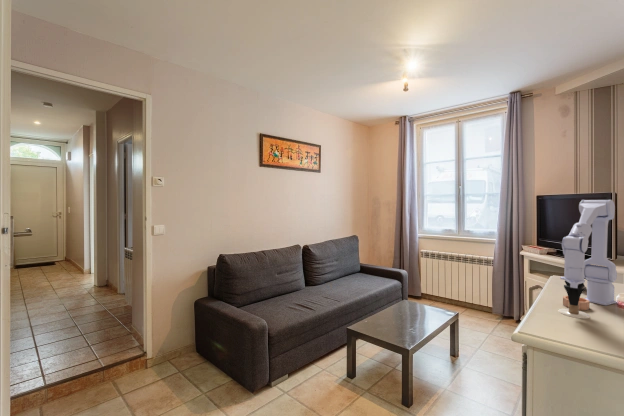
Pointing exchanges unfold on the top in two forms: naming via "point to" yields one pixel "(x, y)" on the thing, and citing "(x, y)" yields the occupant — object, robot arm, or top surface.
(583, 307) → the bowl
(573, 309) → the lid
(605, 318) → the top surface
